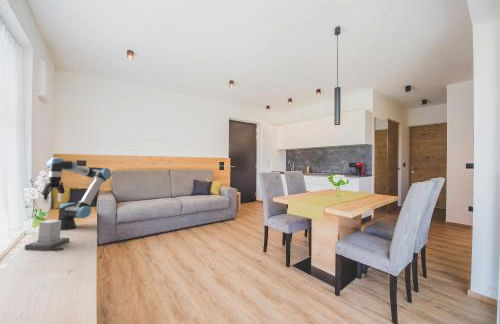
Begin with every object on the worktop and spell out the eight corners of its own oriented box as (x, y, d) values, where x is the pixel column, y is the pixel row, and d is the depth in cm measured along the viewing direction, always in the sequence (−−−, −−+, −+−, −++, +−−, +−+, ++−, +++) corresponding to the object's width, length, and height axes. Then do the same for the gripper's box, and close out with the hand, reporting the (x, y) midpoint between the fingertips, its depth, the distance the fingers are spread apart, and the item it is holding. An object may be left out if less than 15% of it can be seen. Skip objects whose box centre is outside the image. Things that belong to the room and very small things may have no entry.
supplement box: (60, 239, 169) (62, 220, 170) (48, 243, 160) (50, 222, 161) (49, 238, 170) (51, 219, 170) (37, 242, 161) (39, 221, 161)
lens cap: (53, 249, 159) (53, 248, 159) (64, 248, 162) (64, 247, 162) (51, 252, 154) (51, 250, 154) (62, 250, 157) (62, 249, 157)
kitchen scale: (47, 240, 173) (48, 235, 173) (69, 241, 174) (69, 236, 174) (24, 249, 154) (25, 243, 154) (48, 250, 155) (49, 244, 155)
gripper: (62, 175, 196) (60, 199, 195) (37, 176, 171) (34, 204, 170) (71, 176, 196) (69, 200, 195) (47, 177, 171) (44, 204, 170)
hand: (52, 202), depth 183 cm, fingers open, 13 cm apart
